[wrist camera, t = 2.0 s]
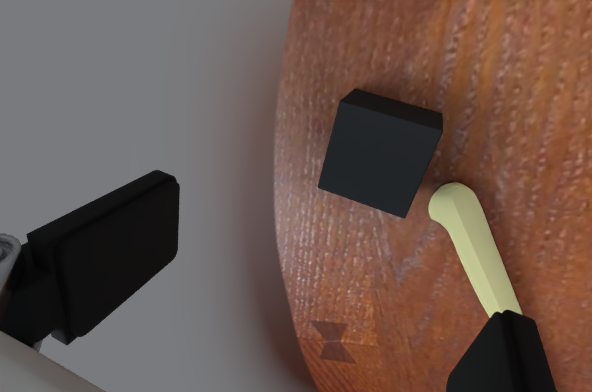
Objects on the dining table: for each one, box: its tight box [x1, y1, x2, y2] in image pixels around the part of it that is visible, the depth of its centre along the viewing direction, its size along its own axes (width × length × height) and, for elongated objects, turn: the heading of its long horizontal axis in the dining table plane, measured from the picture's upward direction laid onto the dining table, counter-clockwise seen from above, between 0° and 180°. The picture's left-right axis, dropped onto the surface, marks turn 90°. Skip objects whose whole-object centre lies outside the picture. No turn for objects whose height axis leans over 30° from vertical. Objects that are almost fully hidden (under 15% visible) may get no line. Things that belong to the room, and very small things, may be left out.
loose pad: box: [318, 89, 443, 218], centre depth 19 cm, size 5×5×4 cm
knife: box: [428, 182, 523, 318], centre depth 24 cm, size 1×34×5 cm
